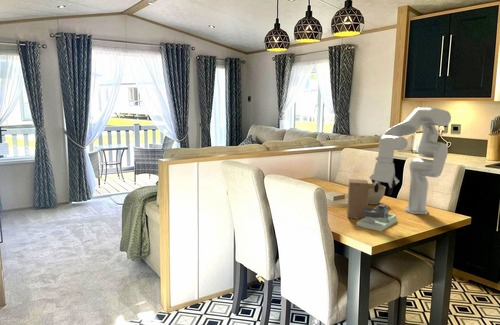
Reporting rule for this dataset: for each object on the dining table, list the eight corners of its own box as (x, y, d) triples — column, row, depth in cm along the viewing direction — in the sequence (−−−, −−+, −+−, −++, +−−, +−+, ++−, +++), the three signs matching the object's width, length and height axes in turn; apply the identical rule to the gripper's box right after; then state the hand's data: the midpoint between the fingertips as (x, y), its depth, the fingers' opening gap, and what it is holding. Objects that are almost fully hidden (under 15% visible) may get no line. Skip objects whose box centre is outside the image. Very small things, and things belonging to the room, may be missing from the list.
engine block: (379, 215, 211) (379, 203, 210) (388, 217, 208) (389, 205, 207) (374, 217, 207) (375, 205, 206) (383, 219, 204) (384, 207, 203)
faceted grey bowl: (368, 211, 205) (368, 207, 204) (384, 215, 199) (385, 210, 198) (360, 215, 198) (361, 210, 197) (377, 218, 192) (378, 214, 192)
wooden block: (366, 219, 212) (368, 183, 208) (347, 217, 213) (349, 182, 210) (364, 213, 221) (367, 179, 218) (347, 212, 223) (349, 178, 220)
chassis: (374, 216, 217) (374, 202, 215) (397, 221, 208) (398, 207, 207) (356, 225, 200) (357, 210, 199) (380, 231, 192) (382, 215, 190)
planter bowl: (352, 201, 247) (353, 185, 245) (368, 198, 257) (369, 182, 255) (374, 207, 234) (375, 190, 233) (389, 203, 244) (391, 187, 242)
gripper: (366, 159, 205) (364, 191, 208) (399, 163, 194) (396, 197, 197) (372, 157, 211) (370, 189, 214) (404, 161, 200) (401, 194, 203)
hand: (383, 193), depth 205 cm, fingers open, 6 cm apart
